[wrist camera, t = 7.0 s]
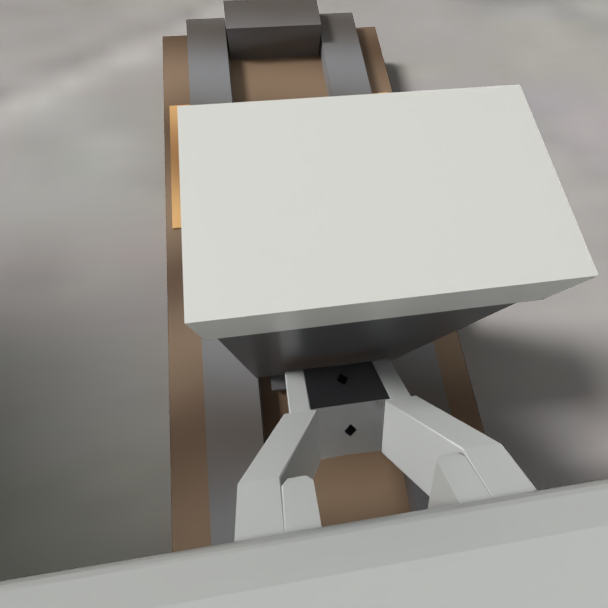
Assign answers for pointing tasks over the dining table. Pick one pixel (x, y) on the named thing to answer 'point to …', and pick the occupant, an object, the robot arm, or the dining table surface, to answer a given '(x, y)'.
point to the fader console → (212, 353)
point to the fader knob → (366, 222)
